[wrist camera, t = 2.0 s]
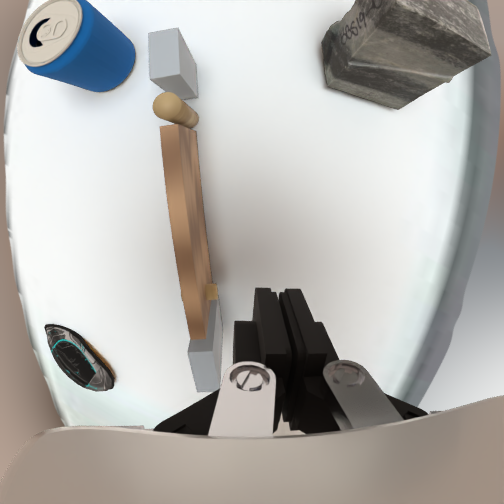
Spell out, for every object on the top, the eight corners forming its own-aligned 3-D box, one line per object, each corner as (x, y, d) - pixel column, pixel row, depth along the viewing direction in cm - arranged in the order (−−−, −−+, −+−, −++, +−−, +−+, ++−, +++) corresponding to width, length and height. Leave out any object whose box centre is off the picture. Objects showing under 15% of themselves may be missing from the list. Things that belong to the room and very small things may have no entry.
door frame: (222, 329, 34) (220, 391, 25) (205, 330, 34) (197, 392, 25) (196, 64, 25) (178, 27, 16) (175, 67, 25) (148, 33, 16)
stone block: (316, 47, 25) (312, 89, 25) (372, -51, 11) (378, -9, 11) (396, 73, 26) (397, 115, 26) (478, 5, 12) (494, 55, 12)
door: (172, 112, 27) (143, 96, 17) (204, 108, 27) (188, 88, 17) (193, 287, 32) (178, 342, 23) (221, 285, 32) (217, 340, 23)
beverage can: (87, 38, 23) (26, 1, 12) (143, 34, 24) (97, -17, 12) (76, 94, 25) (5, 78, 14) (131, 92, 26) (74, 66, 14)
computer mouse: (54, 310, 33) (39, 326, 29) (127, 368, 36) (118, 389, 32) (39, 336, 34) (25, 353, 30) (106, 389, 37) (98, 409, 33)
